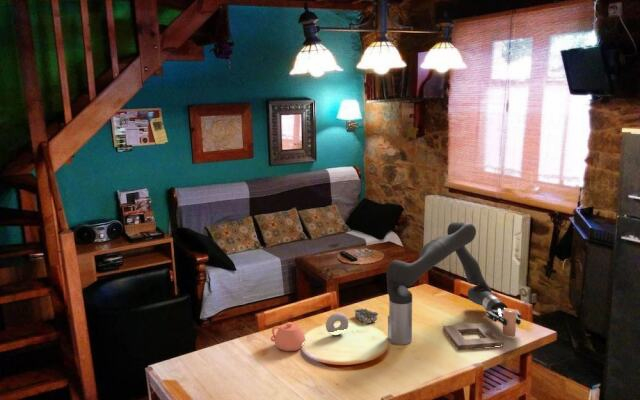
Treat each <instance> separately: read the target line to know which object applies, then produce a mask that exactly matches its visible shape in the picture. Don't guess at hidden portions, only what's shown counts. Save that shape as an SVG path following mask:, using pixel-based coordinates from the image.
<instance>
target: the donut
mask: <svg viewBox="0 0 640 400" xmlns="http://www.w3.org/2000/svg"><path fill="white" fill-rule="evenodd" d="M336 322H340V324H339V325H338V327H335V323H336ZM325 328H326V331H327V333H328V332H334V331H337V330H344V329H347V330H348V328H349V318H348V317H347V315H345V314H344V313H342V312H335V313H332V314H330V315H329V316H328V317H327V319H326V322H325Z"/></svg>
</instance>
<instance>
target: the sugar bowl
mask: <svg viewBox="0 0 640 400" xmlns="http://www.w3.org/2000/svg"><path fill="white" fill-rule="evenodd" d="M275 329H278V330H277V331H276V333H275ZM271 332H272V336H271V337H270V341H272V342H274V345H275V346H276V347H277V348H278V349H280V350H281V351H284V352H285V351H286V352H296V351H297V350H299V349H301V348H302V347H301V345H302V343H303V342H304V341H305V342H306V336H305V334H304V331H303V329H301V327H300V326H299V325H298V324H297V323H294V322H291V321H288V322H286V323H283V324H281V325H280V326H278V325H276V326H273V327H272V329H271Z"/></svg>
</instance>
